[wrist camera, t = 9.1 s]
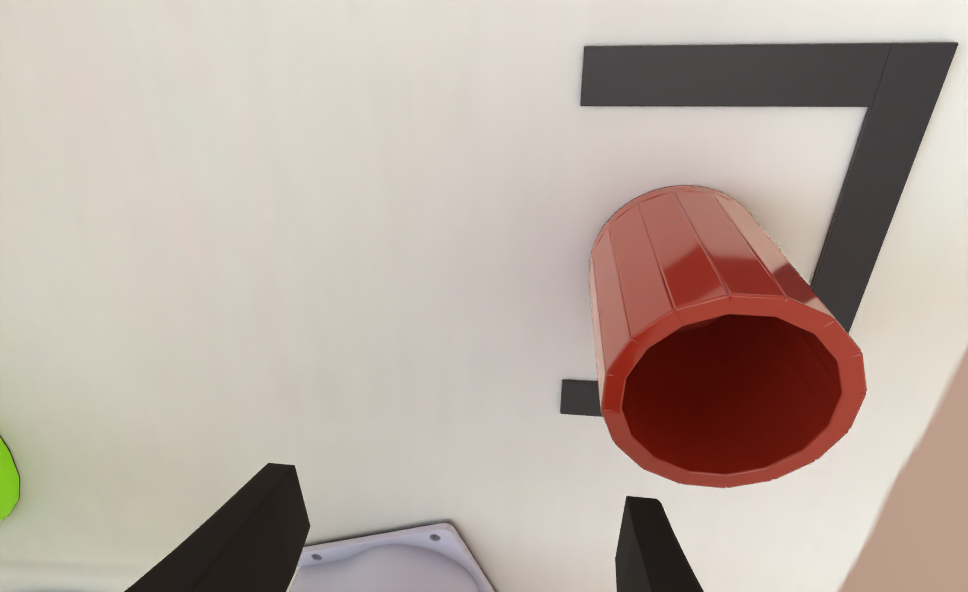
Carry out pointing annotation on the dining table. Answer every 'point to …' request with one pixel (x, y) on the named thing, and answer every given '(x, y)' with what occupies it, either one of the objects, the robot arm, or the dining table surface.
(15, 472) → the wineglass
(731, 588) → the dining table surface
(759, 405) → the tumbler
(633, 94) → the tape bay
